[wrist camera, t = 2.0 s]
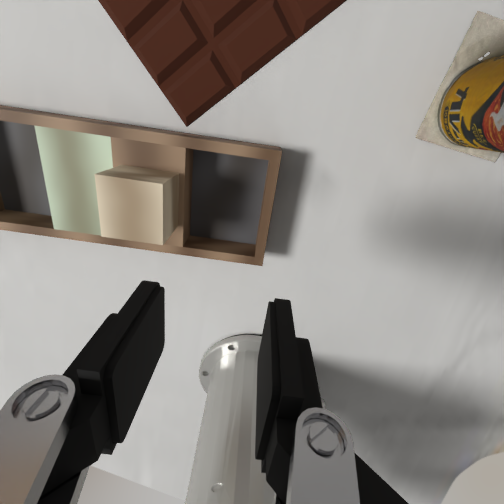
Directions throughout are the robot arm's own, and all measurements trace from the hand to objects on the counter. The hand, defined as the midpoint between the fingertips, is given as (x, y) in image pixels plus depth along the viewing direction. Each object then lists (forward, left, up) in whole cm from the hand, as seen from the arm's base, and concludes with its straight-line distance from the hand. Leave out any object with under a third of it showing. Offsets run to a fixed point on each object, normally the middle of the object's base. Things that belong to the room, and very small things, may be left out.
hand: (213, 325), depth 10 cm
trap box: (+11, 0, -17) cm, 20 cm away
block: (+8, 0, -14) cm, 16 cm away
